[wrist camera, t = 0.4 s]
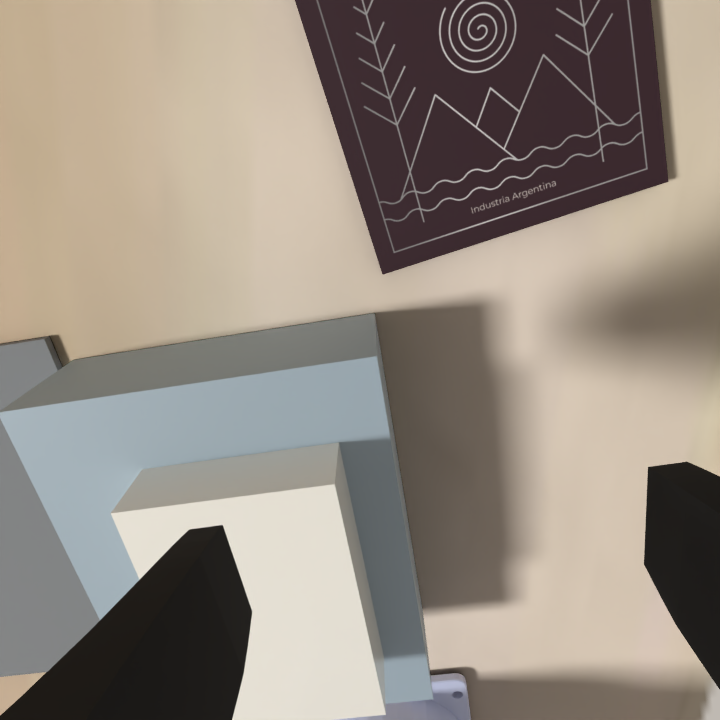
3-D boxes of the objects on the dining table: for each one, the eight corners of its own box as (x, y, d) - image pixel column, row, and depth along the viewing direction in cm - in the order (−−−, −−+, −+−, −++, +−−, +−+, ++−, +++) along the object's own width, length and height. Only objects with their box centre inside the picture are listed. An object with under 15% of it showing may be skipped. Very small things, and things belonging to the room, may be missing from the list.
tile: (384, 656, 18) (385, 714, 16) (222, 673, 18) (206, 731, 17) (339, 442, 15) (334, 484, 13) (142, 469, 15) (110, 513, 13)
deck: (422, 609, 22) (433, 699, 19) (186, 635, 23) (152, 726, 20) (374, 313, 17) (376, 355, 14) (73, 360, 18) (-3, 413, 14)
